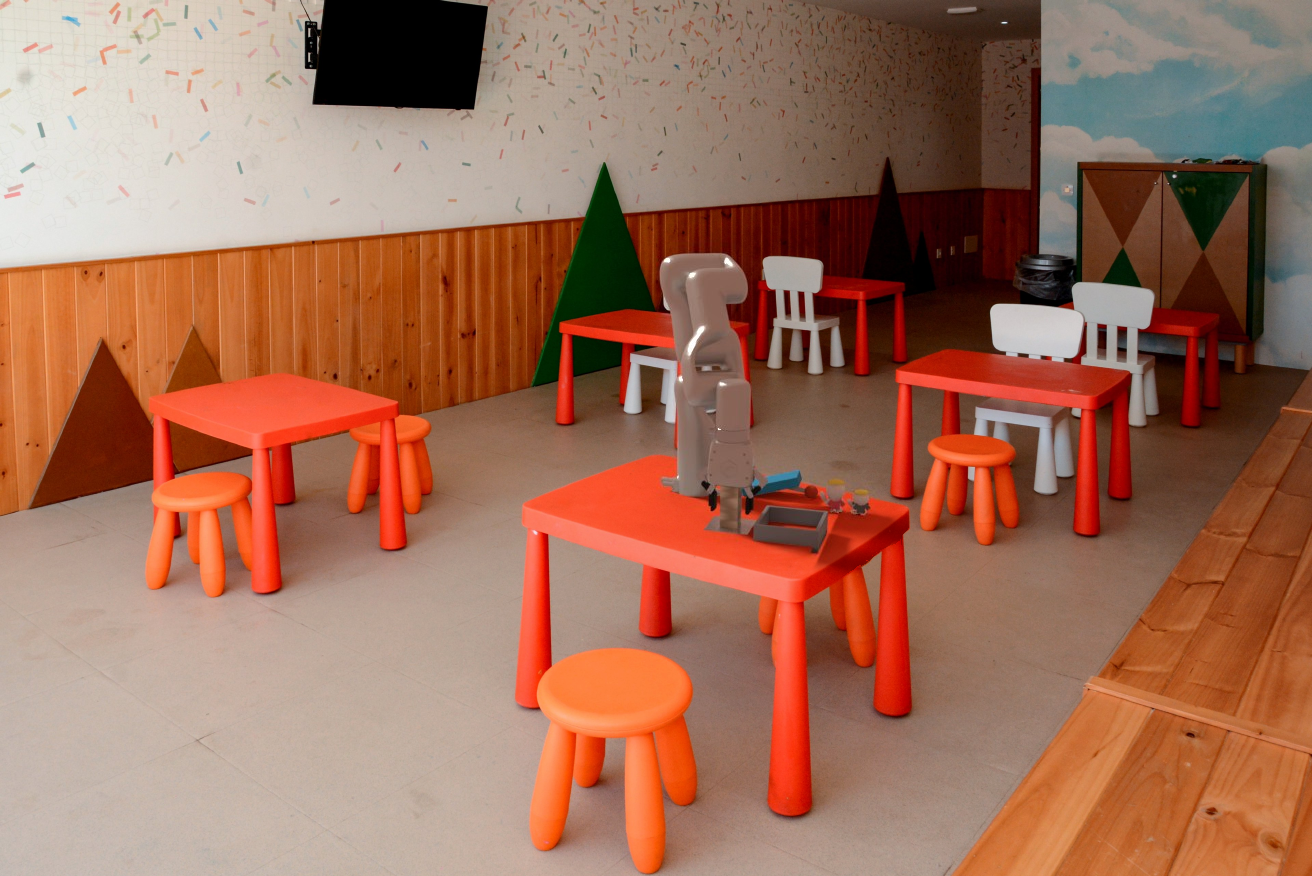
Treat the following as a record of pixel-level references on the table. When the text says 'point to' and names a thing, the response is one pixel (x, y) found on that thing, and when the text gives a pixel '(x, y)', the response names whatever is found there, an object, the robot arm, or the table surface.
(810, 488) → the lever
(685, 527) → the table surface
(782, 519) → the bin
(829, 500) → the toy figures
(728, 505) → the strut
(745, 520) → the square lid with knob
